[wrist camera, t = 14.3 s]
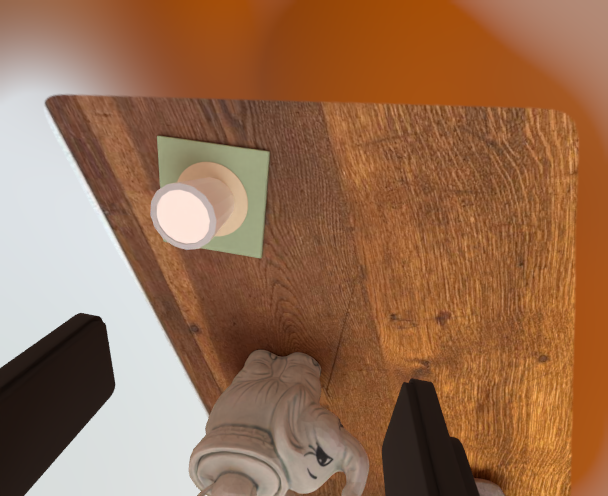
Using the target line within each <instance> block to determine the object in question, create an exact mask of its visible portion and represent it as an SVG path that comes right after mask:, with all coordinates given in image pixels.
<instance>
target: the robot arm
mask: <svg viewBox="0 0 608 496" xmlns="http://www.w3.org/2000/svg"><path fill="white" fill-rule="evenodd" d="M114 389H115V380H114V374H113V367H112V361H111V355H110V349H109V342H108V336H107V330H106V325H105V323H104V322H103V321H102V319H101V318H100V317H99V316H94V315H89V314H84V313H79V314H77V315H75V316H74V317H72V318H71V319H69V320H68V321H67V322H65V323H63V324H62V325H61V326H59V327H58V328H56V329H55V330H54V331H52V332H51V333H49V334H48V335H47V336H45V337H44V338H42V339H41V340H40V341H38V342H37V343H36V344H34V345H33V346H31V347H30V348H28V349H27V350H25V351H24V352H22V353H21V354H20V355H18V356H17V357H15V358H14V359H13V360H11V361H10V362H8V363H7V364H5V365H4V366H3V367H1V368H0V496H24V495H25V494H26V493H27V492H28V491H29V489H30V488H31V487H32V486H33V485H34V484H35V483H36V481H37V480H38V479H39V478H40V477H41V476H42V475H43V473H44V472H45V471H46V470H47V469H48V468H49V467H50V465H51V464H52V463H53V462H54V461H55V459H56V458H57V457H58V456H59V455H60V454H61V453H62V452H63V450H64V449H65V448H66V447H67V446H68V445H69V444H70V442H71V441H72V440H73V439H74V438H75V437H76V436H77V434H78V433H79V432H80V431H81V430H82V429H83V428H84V426H85V425H86V424H87V423H88V422H89V421H90V419H91V418H92V417H93V416H94V415H95V414H96V413H97V411H98V410H99V409H100V408H101V407H102V406H103V405H104V403H105V402H106V401H107V400H108V399H109V398H110V396H111V395H112V393H113V391H114ZM382 461H383V472H384V483H385V494H386V496H480V494H479V491H478V489H477V486H476V483H475V480H474V477H473V474H472V471H471V468H470V465H469V462H468V459H467V456H466V453H465V450H464V448H463V446H462V443H461V442H460V441H459V439H457V438H455V437H450V436H449V433H448V430H447V427H446V423H445V420H444V417H443V414H442V410H441V407H440V404H439V401H438V397H437V394H436V391H435V388H434V385H433V383H432V382H427V381H422V380H417V379H410V381H409V383H406V382H404V383H403V384H402V387H401V390H400V393H399V396H398V399H397V402H396V405H395V408H394V411H393V414H392V417H391V420H390V423H389V426H388V429H387V432H386V435H385V438H384V441H383V446H382Z"/></svg>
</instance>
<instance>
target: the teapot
mask: <svg viewBox="0 0 608 496" xmlns="http://www.w3.org/2000/svg"><path fill="white" fill-rule="evenodd" d="M320 374H321V367H320V365H319V364H318V362H317V361H316V360H315V359H314V358H312V357H311V356H309V355H307V354H304V353H301V352H295V353H292V354H290V355H288V356H285V357H280V356H277V355H275V354H273V353H271V352H269V351H266V350H256V351H254V352H252V353H251V354H250V355H249V357H248V359H247V360H246V362H245V365H244V368H243V369H242V370H241V371H240V372H239V373H238V374H237V375H236V377H235V378H234V380H233V382H232V384H231V385H230V386H229V387H228V388H227V389H226V390H225V391H224V392H223V393H222V395H221V396H220V397H219V398H218V400H217V402H216V403H215V405H214V407H213V409H212V411H211V413H210V416H209V419H208V422H207V424H206V428H205V429H206V435H205V437H204V438H203V439H202V440H201V441H200V442H199V444H198V445H197V446H196V447H195V448H194V449H193V452H192V454H191V457H190V462H189V475H190V478H191V479H192V481H193V482H194V484H195V485H196V487H198V489H200V490H201V492H200V493H199V494H198V495H197V496H205V495H208V496H285V494H286V492H287V491H288V490H289V489H291V490H293V491H295V492H297V493H299V494H301V493H310V492H313V491H315V490H316V489H318V488H319V487H320V486H321V485H322V484H323V483H324V482H325V481H326V480H327V479H328V478H329V477H330V476H331V475H333V474H334V473H335V472H338V471H343V472H344V473H345V474H346V479H347V484H346V486H345V487H344V489H343V490H342V496H361V494H362V492H363V490H364V487H365V483H366V480H367V476H368V472H369V460H368V457H367V454H366V452H365V449H364V448H363V446H362V445H361V444H360V442H359V441H358V440H357V439H356V438H355V437H353V436H352V435H351V434H350V433H349V432H348V431H347V430H346V429H345V428H344V427H343V425H342V424H341V422H340V419H339V418H338V417H337V416H336V415H335V414H333V413H332V412H330V411H329V410H327V409H325V408H323V407H322V406H320V403H319V400H320V395H321V384H320V380H319V378H320Z"/></svg>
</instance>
